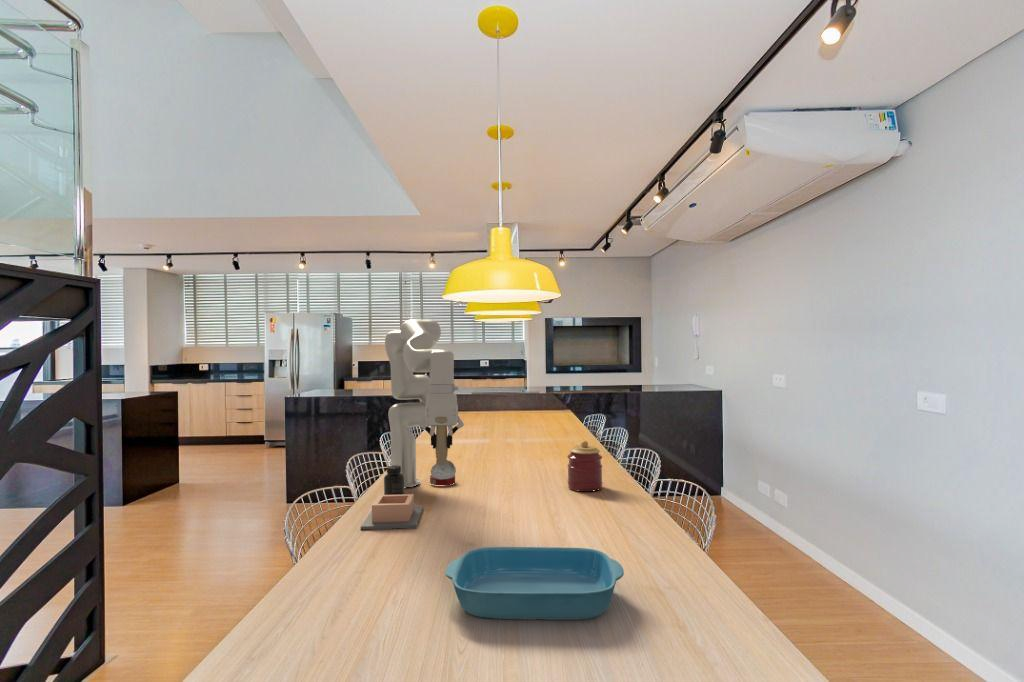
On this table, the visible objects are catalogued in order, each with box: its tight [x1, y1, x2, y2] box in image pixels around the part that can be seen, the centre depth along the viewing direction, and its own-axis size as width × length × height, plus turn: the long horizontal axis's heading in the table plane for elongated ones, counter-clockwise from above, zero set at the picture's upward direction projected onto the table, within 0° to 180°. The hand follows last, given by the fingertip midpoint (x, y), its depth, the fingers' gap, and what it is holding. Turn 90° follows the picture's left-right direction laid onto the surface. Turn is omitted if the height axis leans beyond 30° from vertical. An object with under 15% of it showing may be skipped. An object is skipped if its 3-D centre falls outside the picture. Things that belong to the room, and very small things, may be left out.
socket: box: [360, 493, 424, 530], centre depth 159 cm, size 18×16×6 cm
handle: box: [434, 418, 449, 465], centre depth 162 cm, size 5×6×15 cm
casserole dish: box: [445, 546, 625, 621], centre depth 107 cm, size 37×22×7 cm, turn 86°
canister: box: [566, 440, 604, 492], centre depth 193 cm, size 13×13×18 cm
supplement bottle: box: [383, 465, 405, 495], centre depth 178 cm, size 7×7×12 cm
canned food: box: [429, 459, 457, 485], centre depth 202 cm, size 11×10×10 cm
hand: (441, 447), depth 162 cm, fingers closed on handle, 3 cm apart
